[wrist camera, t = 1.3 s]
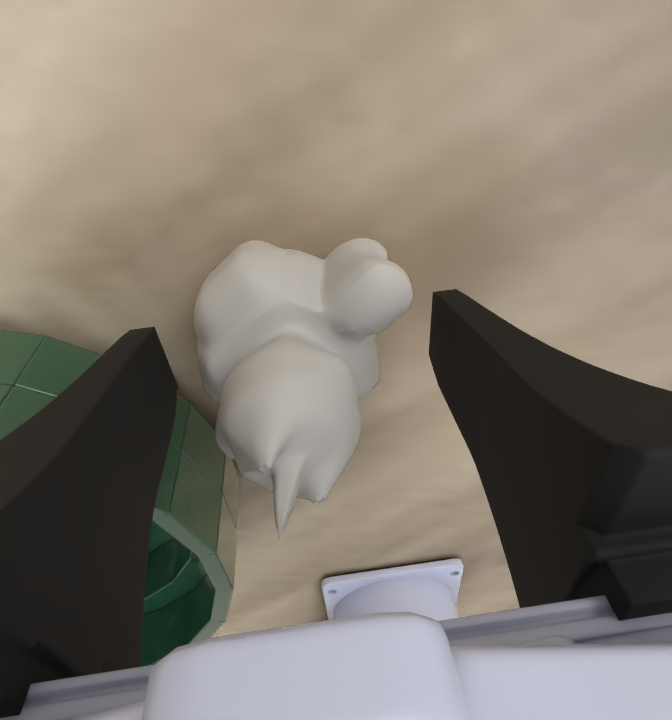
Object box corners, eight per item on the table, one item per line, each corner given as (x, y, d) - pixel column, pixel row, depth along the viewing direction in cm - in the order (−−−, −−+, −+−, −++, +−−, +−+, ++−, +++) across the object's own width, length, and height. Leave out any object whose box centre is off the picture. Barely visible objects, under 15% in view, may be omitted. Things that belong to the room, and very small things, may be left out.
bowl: (266, 549, 23) (265, 659, 19) (-41, 593, 23) (-104, 717, 19) (180, 286, 14) (145, 400, 10) (-352, 350, 13) (-612, 499, 9)
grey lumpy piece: (155, 301, 14) (65, 545, 8) (314, 143, 12) (364, 309, 6) (283, 391, 17) (291, 623, 11) (430, 278, 15) (550, 488, 8)
